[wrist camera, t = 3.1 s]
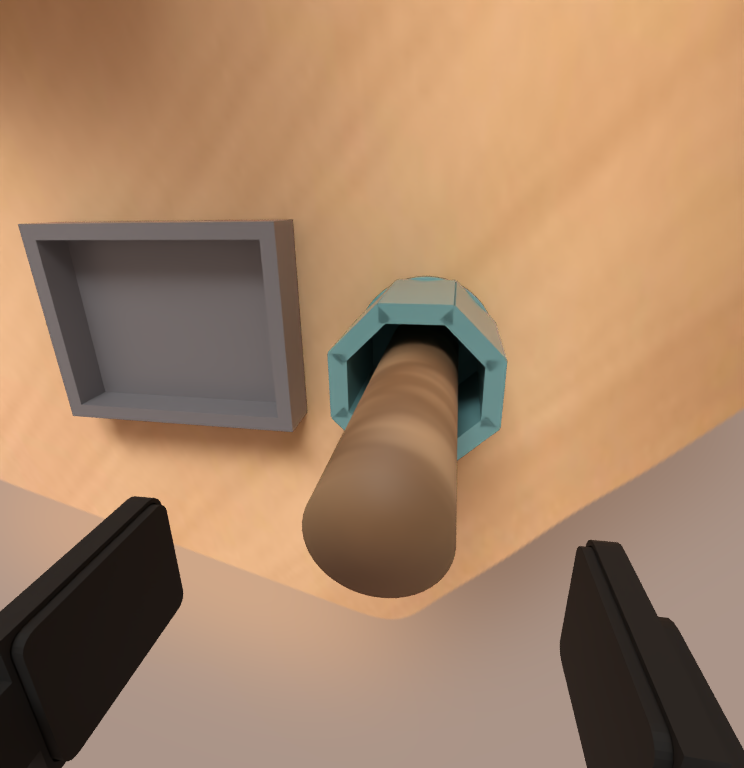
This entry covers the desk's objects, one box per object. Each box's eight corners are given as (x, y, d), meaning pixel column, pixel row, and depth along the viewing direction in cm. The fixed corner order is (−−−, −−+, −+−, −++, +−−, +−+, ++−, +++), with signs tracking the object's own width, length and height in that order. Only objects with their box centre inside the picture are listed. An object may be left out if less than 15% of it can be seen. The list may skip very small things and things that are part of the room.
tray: (292, 219, 23) (273, 221, 21) (307, 411, 27) (292, 431, 25) (58, 222, 26) (18, 224, 23) (104, 398, 30) (73, 415, 28)
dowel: (460, 315, 23) (460, 479, 9) (456, 380, 25) (451, 607, 11) (391, 313, 24) (296, 464, 10) (390, 377, 25) (307, 588, 11)
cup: (501, 276, 23) (515, 303, 17) (489, 411, 25) (498, 474, 19) (356, 275, 24) (322, 299, 18) (360, 403, 27) (331, 461, 21)
